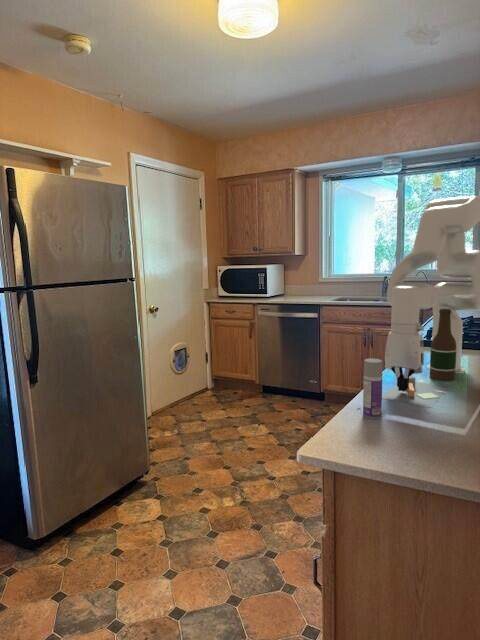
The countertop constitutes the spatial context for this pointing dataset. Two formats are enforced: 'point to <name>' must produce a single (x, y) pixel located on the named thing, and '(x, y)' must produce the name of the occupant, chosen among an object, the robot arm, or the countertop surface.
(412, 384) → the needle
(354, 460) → the countertop surface
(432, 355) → the beer bottle
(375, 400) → the container
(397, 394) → the tuner board
